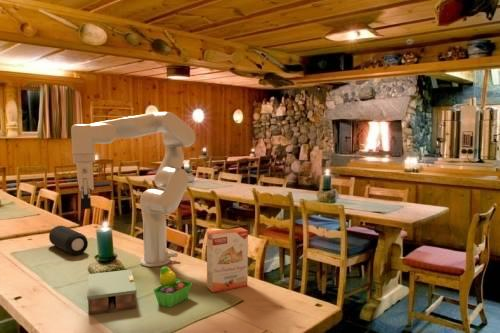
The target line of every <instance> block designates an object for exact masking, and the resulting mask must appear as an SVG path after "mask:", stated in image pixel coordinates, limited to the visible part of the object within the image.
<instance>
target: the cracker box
mask: <svg viewBox="0 0 500 333" xmlns="http://www.w3.org/2000/svg"><path fill="white" fill-rule="evenodd" d="M248 251H249V230H247V229H245V228H243V227H236V228H226V229H218V230H209V231H206V287H207V289H208V290H210V291H211V292H212V293H215V292H216V293H217V292H221V291H228V290H232V289H238V288H243V287H247V286H248V275H249V274H248V273H249V272H248V271H249V270H248V267H249V266H248V265H249V262H248V261H249V260H248V257H249V256H248V255H249V252H248Z"/></svg>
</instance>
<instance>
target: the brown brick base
mask: <svg viewBox="0 0 500 333" xmlns="http://www.w3.org/2000/svg"><path fill="white" fill-rule="evenodd" d="M136 294H137V292H136V293H134V294H126V295H118V296H114V305H115V308H114V309H113V310H111V309H110V301H109V297H103V298H96V299H88V300H87V308H88V309H87V310H88V316H93V315H99V314H104V313H105V314H106V313H111V312H112V313H113V312H118V311H125V310H132V309H136V297H137V296H136Z"/></svg>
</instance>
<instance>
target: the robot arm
mask: <svg viewBox="0 0 500 333" xmlns="http://www.w3.org/2000/svg"><path fill="white" fill-rule="evenodd" d="M158 133H159V134H160V133H162V134H161V140H162V143H163V146H164V149H165V151H164V152H165V154H164V157H163V159H162V161H161V163H160V165H159V167H158V169H157V171H156V173H155V175H154V179H153V182H154V185H155V186H156V187H158V188H159V189H158V188H148V189H146V190H145V191H143V192H142V194H141V195H140V199H139V204H140V209H141V214H142V225H143V226H142V228H143V230H142V233H143V235H142V236H143V257H142V258H141V259H140V260H139V263H140V265H142V266H144V267H164V266H166V265H168V264H169V263H170V262H171V258H177V257H179V253H178V251H175V252H174V251H168V250H167V249H168V248H167V219H166V215H171V214H173V213H174V212H176V210H177V209H178V208H179V205H180V203H181V201H182V198H183V197H184V194H185V193H186V190H187V188H188V185H189V174H188V172H187V171H186V170H184V169H183V168H182V167H183V164H184V162H185V161H184V160H185V157H184V156H185V154H184V151H183V149H182V148H189V147H192V146H193V145H194V144H195V142H196V140H197V139H196V133H195V130H194V129H193V128H192V127H191V126H190V125H189V124H187V123H186V122H185V121H184V120H183V119H181V118H180V117H179V116H178V115H176V114H175V113H173V112H171V111H155V112H154V111H153V112H149V113H143V114H139V115H133V116H128V117H121V118H115V119H111V120H110V119H109V120H104V121H98V122H93V123H89V124H87V123H86V124H85V123H83V124H81V123H80V124H73V125H72V126H71V129H70V134H71V138H70V139H71V152H72V164H76V177H77V184H78V189H79V191H81V198H80V202H81V204H80V205H81V210H89V209H91V208H92V200H91V194H90V192H91V191H93V190H95V187H94V186H95V185H94V170H93V169H94V168H93V163H96V155H95V153H96V152H95V144H101V145H108V144H112V143H113V142H114V141H115V140H116V139H135V138H140V137H143V136H149V135H153V134H158ZM163 189H164V190H163ZM90 190H91V191H90Z"/></svg>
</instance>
